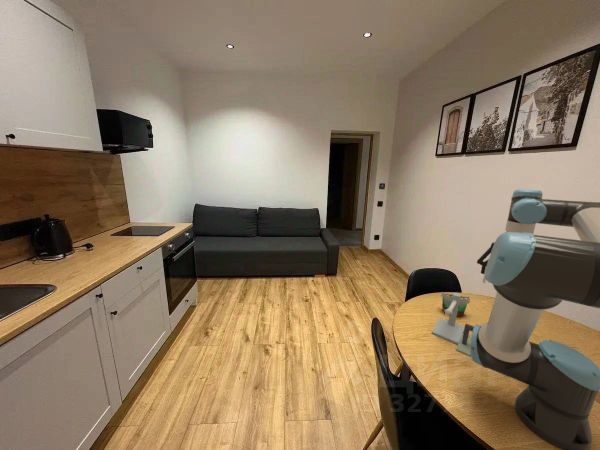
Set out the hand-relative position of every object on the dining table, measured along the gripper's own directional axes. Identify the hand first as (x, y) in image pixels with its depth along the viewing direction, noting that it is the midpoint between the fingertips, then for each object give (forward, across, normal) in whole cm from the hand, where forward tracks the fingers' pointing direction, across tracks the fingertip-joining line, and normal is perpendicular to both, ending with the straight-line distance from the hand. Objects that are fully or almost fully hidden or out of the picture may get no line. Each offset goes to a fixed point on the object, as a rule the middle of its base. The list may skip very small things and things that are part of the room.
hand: (506, 287), depth 90 cm
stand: (+27, +16, 0) cm, 31 cm away
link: (+27, +6, +5) cm, 28 cm away
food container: (+28, +16, -16) cm, 36 cm away
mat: (+27, +6, +5) cm, 28 cm away
